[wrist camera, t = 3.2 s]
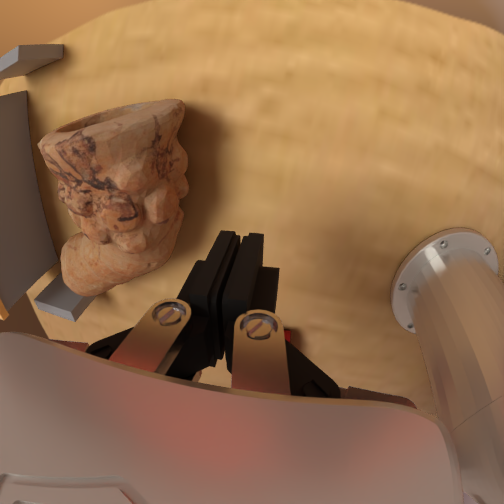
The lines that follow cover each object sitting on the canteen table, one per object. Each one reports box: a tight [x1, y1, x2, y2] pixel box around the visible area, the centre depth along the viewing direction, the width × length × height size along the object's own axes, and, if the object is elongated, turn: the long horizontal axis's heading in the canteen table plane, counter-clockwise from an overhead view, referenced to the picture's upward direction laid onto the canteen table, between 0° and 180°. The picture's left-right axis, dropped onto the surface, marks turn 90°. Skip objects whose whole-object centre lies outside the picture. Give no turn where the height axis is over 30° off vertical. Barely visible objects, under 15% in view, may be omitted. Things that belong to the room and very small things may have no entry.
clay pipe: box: [37, 99, 189, 297], centre depth 21 cm, size 19×11×15 cm
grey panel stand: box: [0, 44, 97, 322], centre depth 21 cm, size 12×29×12 cm, turn 179°
